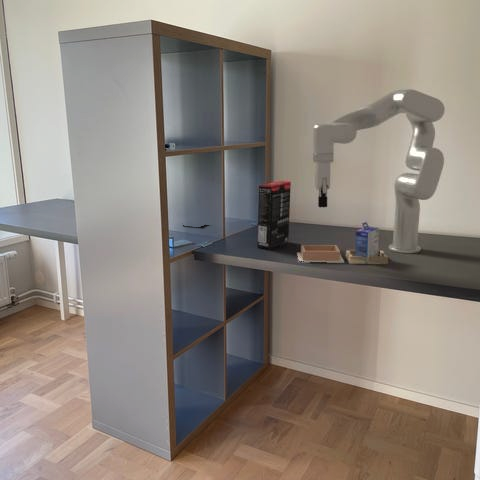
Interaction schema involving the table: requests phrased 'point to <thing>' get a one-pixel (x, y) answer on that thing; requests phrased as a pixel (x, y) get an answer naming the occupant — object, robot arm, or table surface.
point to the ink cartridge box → (367, 242)
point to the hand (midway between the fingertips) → (322, 206)
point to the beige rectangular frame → (353, 259)
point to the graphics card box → (273, 214)
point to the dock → (320, 254)
